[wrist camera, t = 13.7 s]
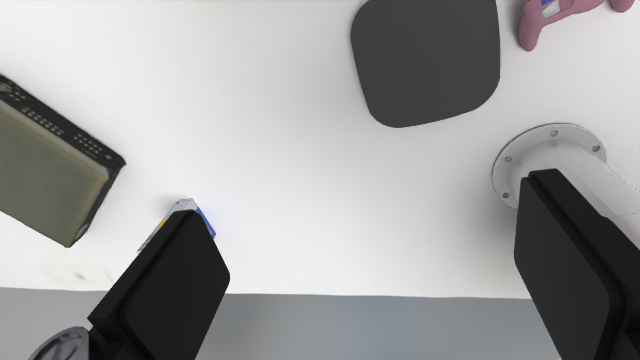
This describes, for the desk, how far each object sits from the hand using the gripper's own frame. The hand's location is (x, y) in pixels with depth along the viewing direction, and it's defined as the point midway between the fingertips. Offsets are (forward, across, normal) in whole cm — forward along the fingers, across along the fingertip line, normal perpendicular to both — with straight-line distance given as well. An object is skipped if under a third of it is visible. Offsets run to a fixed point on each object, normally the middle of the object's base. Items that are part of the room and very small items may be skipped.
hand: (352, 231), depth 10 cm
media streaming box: (+34, -6, +3) cm, 35 cm away
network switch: (+34, +52, +8) cm, 63 cm away
